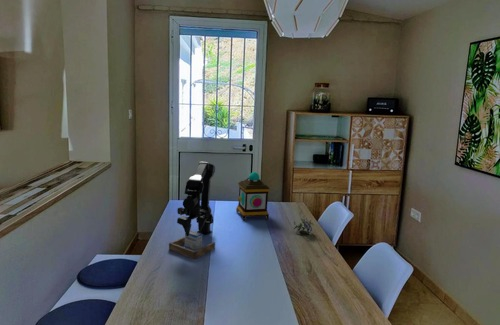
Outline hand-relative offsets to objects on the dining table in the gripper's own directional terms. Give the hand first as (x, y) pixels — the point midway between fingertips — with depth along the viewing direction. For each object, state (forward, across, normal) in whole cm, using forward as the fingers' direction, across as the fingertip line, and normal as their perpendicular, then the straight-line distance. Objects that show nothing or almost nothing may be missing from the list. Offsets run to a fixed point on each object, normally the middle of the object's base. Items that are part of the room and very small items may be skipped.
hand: (193, 233), depth 184 cm
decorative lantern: (+9, -64, -5) cm, 65 cm away
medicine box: (+9, 0, 0) cm, 9 cm away
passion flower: (+9, -57, +35) cm, 67 cm away
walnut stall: (+8, 0, 0) cm, 8 cm away
